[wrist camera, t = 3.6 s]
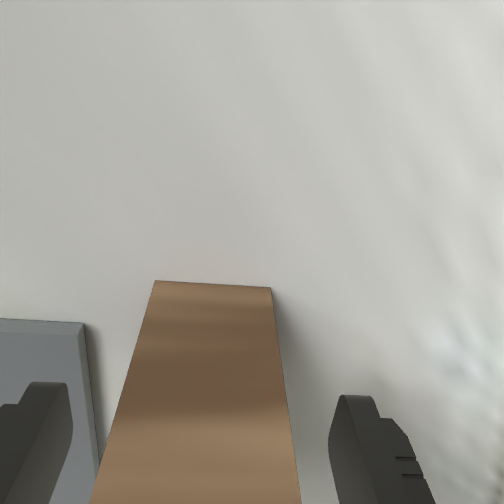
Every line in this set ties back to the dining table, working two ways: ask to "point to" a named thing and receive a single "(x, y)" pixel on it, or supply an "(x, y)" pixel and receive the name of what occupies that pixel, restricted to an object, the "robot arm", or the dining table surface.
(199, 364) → the walnut peg
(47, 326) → the socket holder
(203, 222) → the dining table surface
